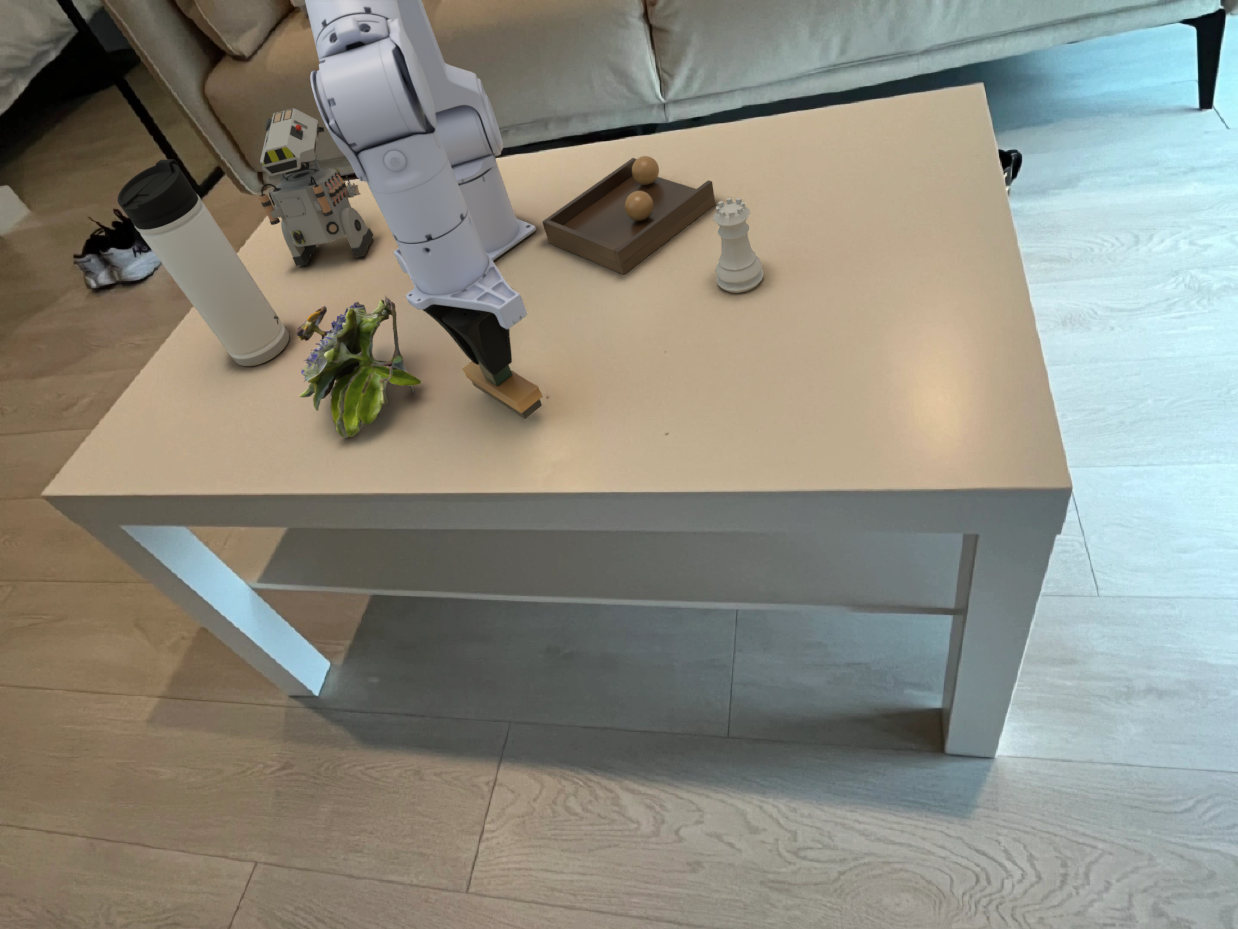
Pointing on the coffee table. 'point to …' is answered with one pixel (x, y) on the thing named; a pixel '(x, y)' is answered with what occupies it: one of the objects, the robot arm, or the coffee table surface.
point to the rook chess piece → (736, 249)
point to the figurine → (308, 190)
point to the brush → (506, 388)
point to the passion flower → (352, 366)
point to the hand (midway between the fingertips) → (492, 361)
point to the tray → (625, 219)
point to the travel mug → (203, 262)
